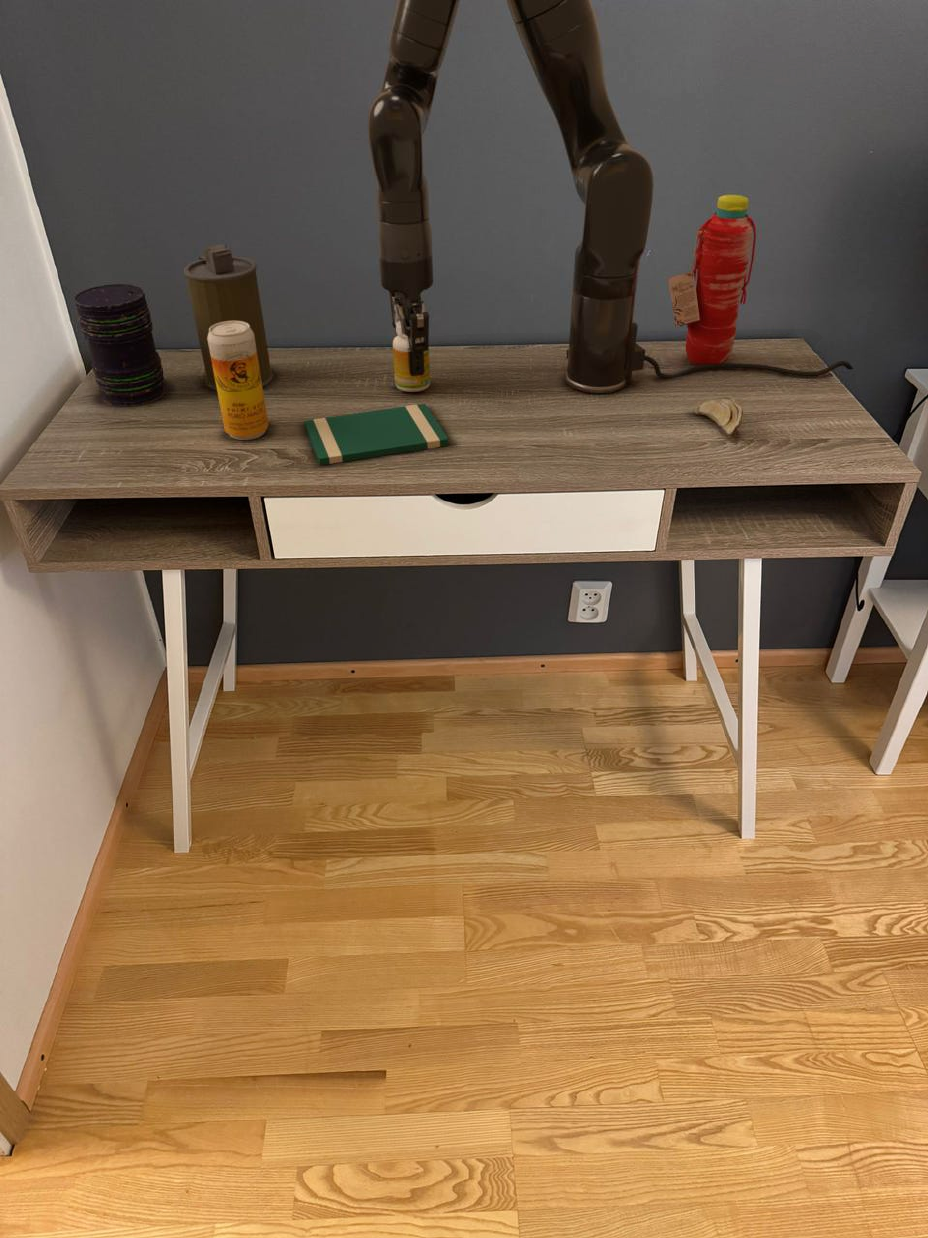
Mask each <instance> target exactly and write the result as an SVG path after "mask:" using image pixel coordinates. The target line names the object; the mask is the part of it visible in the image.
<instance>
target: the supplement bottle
mask: <svg viewBox="0 0 928 1238" xmlns="http://www.w3.org/2000/svg"><path fill="white" fill-rule="evenodd" d="M406 328H407V329H408V330H410V327H406ZM395 330H396V332H397V335H398V336H397V335H396V336H395V337H394V338H393V340H392V354H393V367H394V384H395V387H396V388H397V389H398V390H400V391H402V392H409V393H414V392H416V393H417V392H421V391H424V390H427V389H428V388H429V387H430V384H431V370H430V369H431V368H430V367H431V365H430V347H429V348H428V351H424V374H423V375H419V376H411V375H410V373H409V361H408V350H407V342H406V337H405V336H403V335H402V330H401V323H400V321H398V322H397V323H396V328H395ZM415 343H420V341H419V338H417V339H416V340H415ZM429 344H430V343H429ZM429 344H428V345H429ZM429 346H430V345H429Z"/></svg>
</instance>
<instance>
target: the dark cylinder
mask: <svg viewBox="0 0 928 1238" xmlns="http://www.w3.org/2000/svg"><path fill="white" fill-rule="evenodd" d="M73 300H74V303H75V306H76V311H77V314H78V321H79V325H80V327H81V330H82V332H81V333H82V335H83V337H84V339H85V340H86V342H87V344H88V348H89V351H90V355H91V359H92V362H91V368H92V372H93V373H94V379H95V382H96V385H97V386H98V389H99V391H100V398H101V399H102V401H103V403H105V404H108V405H110V406H115V407H135V406H142V405H146V404H149V403H152V402H154V401H157V400H159V399H160V398H162V397H163V396H164V395H165V394H166V392H167V386H166V383H165V376H164V368H163V365H162V358H161V356H160V354H159V353H158V351H157V349H156V344H155V340H154V336H153V330H154V328H153V322H152V318H151V312H150V308H149V307H148V303H147V300H146V294H145V290H144V288H142V287H140V286H139V285H134V284H130V283H129V284H126V283H114V284H105V285H103V284H102V285H98V286H93V287H90V288H86V289H84V290H82V291H80V292H78V293H76V294H75V296H74V297H73Z"/></svg>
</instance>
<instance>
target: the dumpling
mask: <svg viewBox="0 0 928 1238" xmlns="http://www.w3.org/2000/svg"><path fill="white" fill-rule="evenodd" d="M694 414H696V415H697V416H701V415H703V416H706V417H708V418H709V419H711V420H712V421H714V422H715V423H716V424H717V425H718V426H719V427H721V428H722V430H723V431H724V432H725V434H728V435H729V436H731V437H732V438H734V437H735V435H738V432H737V431H738V430H737V429H739V428H740V426H741V424H742V421H743V417H744V411H743V405H742V404H740V403H738V402H737V401H736V400H735V399H733V398H731V397H717V398H714V399H710V400H709V399H708V400H706V401H704V402H702V403H700V404H698V405H697V406H696V408H695V410H694Z"/></svg>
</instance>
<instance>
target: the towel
mask: <svg viewBox="0 0 928 1238" xmlns="http://www.w3.org/2000/svg"><path fill="white" fill-rule="evenodd" d="M303 423H304V425H303V426H304V428H305V431H306V433H307V437H308V439H309V441H310V444H311V446H312V448H313V451H314V454H315V456H316V459H317V461H318V465H319V466H324V465H331V464H339V463H344V462H350V461H351V462H352V461H356V460H363V459H369V458H376V457H382V456H389V455H394V454H395V455H396V454H402V453H409V452H415V451H422V450H429V449H436V448H440V447H448V446H449V445H450V439H449V437H448V435H447V434H446V433H445V431H444V430H443V428H442V426H441V425H440V423H439V422H438V420H437V419H436V417H435V416H434V415H433V413H432V412H431V410H430V408H429V407H428V405H427V403H418V404H411V405H410V404H409V405H404V406H398V407H391V408H385V409H377V410H371V411H370V410H369V411H362V412H356V413H349V414H342V415H334V416H328V417H320V418H313V419H306V420H303Z"/></svg>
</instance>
